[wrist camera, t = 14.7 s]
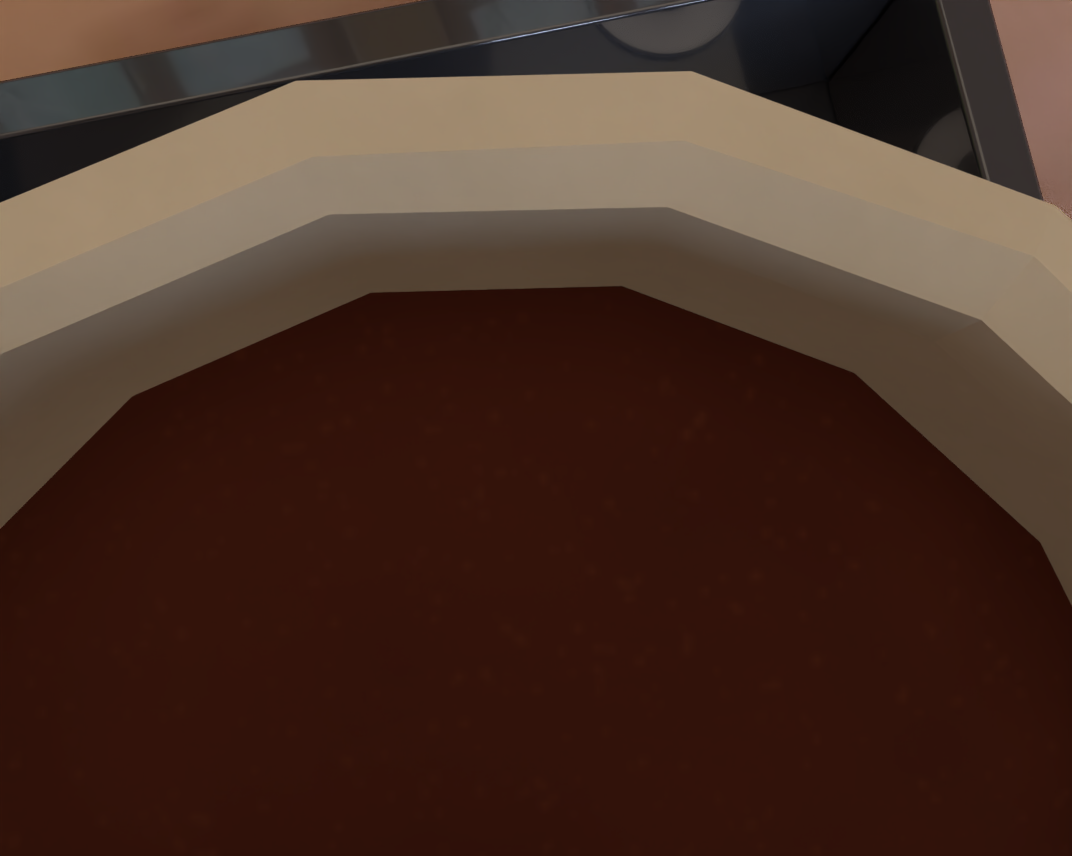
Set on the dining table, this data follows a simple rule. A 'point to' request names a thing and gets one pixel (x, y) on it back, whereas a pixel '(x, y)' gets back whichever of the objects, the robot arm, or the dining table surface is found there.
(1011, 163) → the tray
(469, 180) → the coffee mug
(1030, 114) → the dining table surface
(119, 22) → the dining table surface
